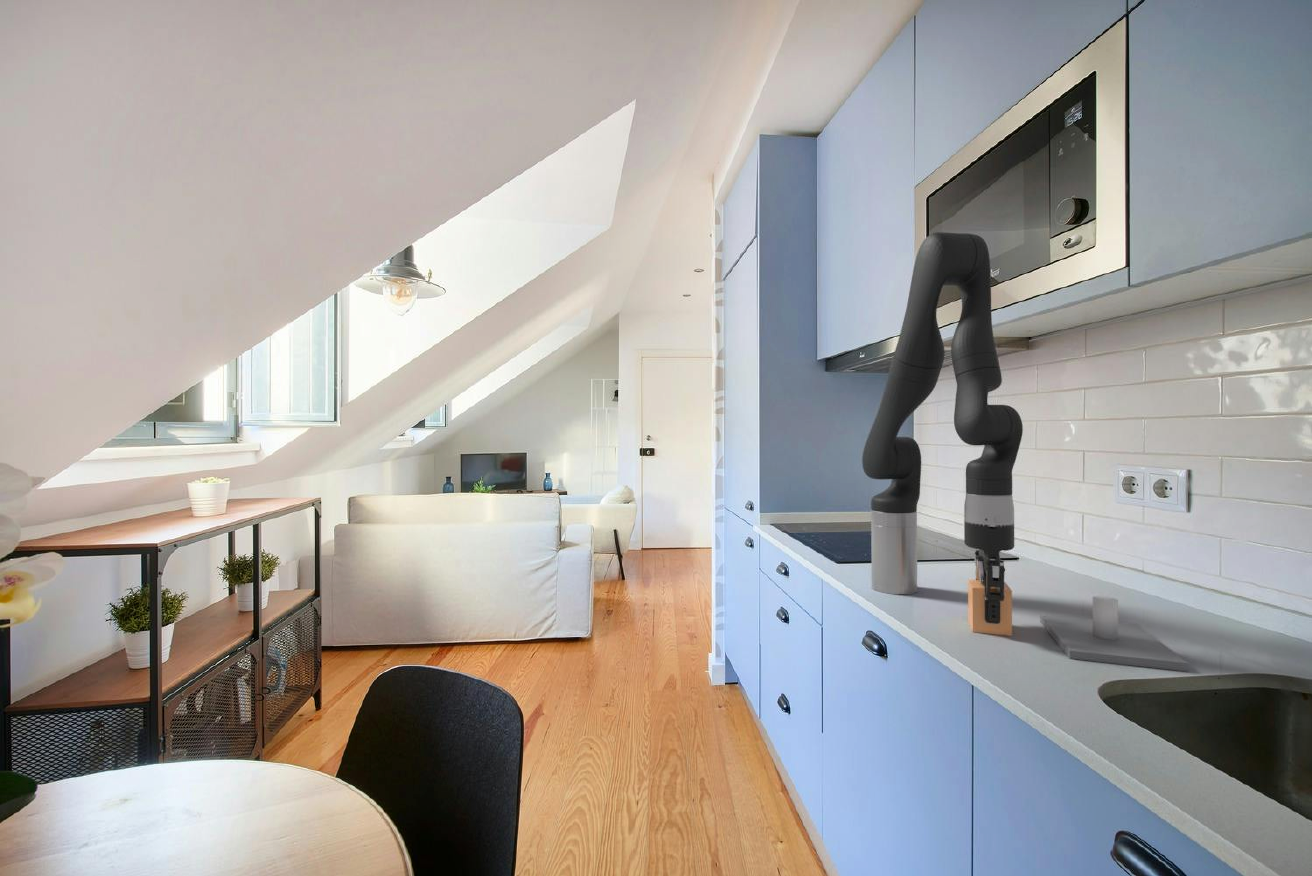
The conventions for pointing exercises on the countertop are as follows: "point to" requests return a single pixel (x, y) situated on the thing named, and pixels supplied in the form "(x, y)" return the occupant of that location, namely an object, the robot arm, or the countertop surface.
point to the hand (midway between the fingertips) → (989, 616)
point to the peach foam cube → (978, 610)
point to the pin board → (1110, 639)
